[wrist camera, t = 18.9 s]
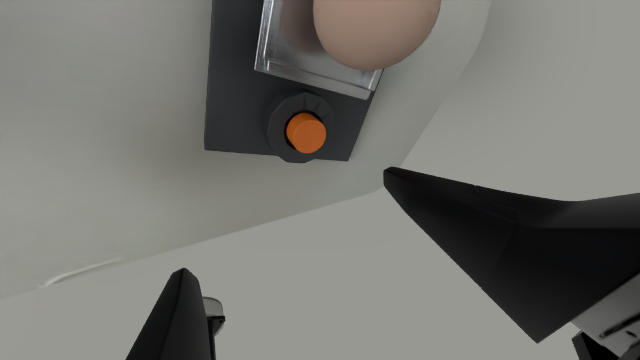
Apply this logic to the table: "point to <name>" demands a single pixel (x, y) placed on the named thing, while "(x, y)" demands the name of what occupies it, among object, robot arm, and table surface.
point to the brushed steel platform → (304, 51)
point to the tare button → (306, 133)
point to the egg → (373, 30)
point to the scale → (267, 96)
